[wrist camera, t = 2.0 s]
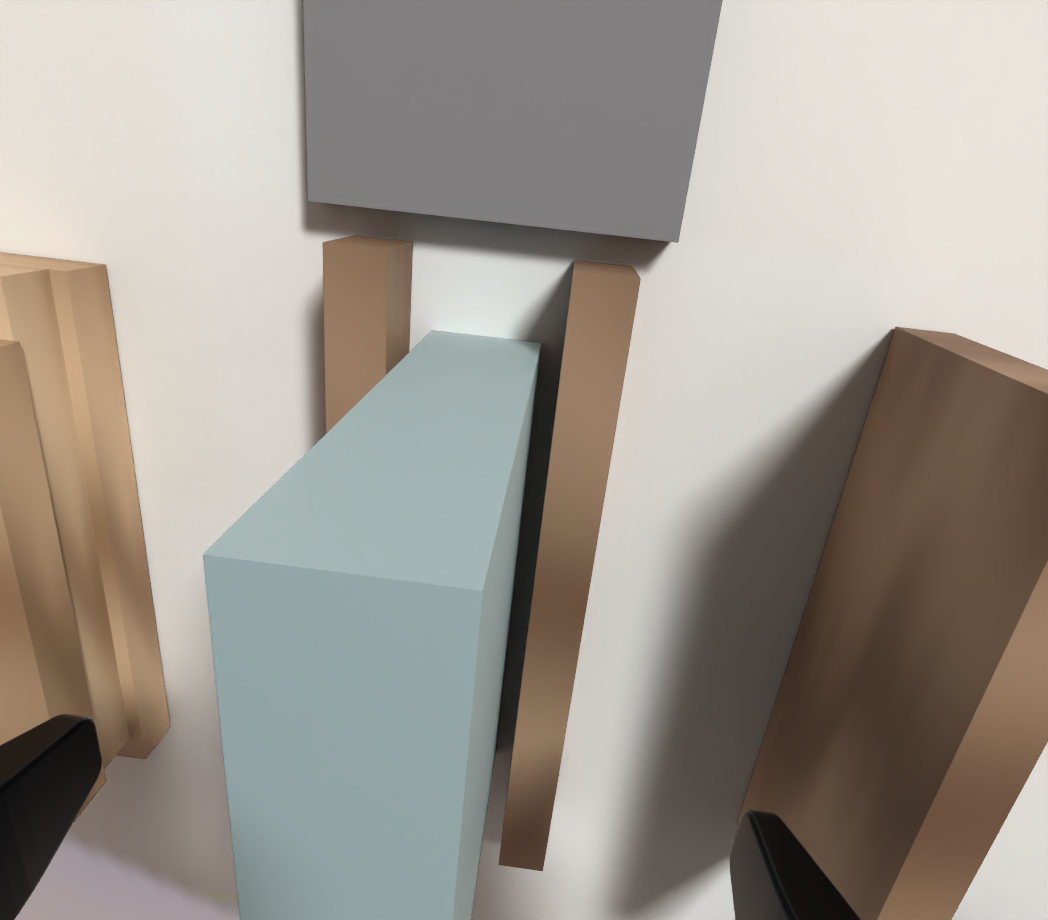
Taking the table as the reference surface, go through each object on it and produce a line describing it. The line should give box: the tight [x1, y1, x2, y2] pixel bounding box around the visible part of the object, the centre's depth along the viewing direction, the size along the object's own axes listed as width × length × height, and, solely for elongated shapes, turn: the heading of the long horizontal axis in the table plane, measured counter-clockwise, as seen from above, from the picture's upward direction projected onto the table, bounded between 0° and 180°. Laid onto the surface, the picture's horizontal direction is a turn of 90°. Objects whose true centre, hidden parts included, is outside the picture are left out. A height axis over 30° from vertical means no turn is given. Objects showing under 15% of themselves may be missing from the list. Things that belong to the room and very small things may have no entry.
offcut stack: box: [0, 252, 170, 822], centre depth 13 cm, size 11×4×3 cm, turn 174°
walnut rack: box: [323, 235, 1048, 920], centre depth 11 cm, size 13×10×5 cm
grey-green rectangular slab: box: [203, 330, 541, 920], centre depth 10 cm, size 10×2×8 cm, turn 174°
